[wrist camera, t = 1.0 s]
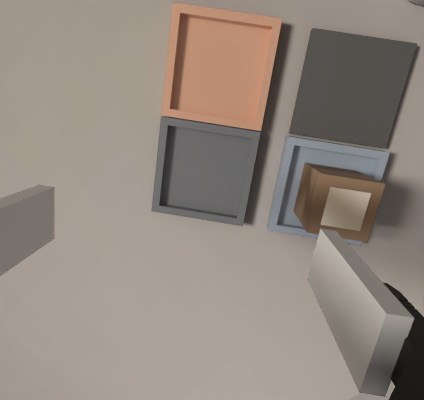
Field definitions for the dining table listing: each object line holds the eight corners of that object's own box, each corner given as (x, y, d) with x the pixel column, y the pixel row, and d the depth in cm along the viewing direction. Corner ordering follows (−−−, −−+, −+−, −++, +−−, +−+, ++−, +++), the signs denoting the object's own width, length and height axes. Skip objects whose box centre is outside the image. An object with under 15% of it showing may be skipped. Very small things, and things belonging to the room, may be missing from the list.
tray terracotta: (175, 7, 28) (172, 2, 26) (280, 22, 27) (282, 18, 26) (164, 115, 30) (161, 115, 29) (259, 130, 30) (260, 131, 29)
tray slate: (286, 135, 30) (288, 136, 29) (383, 151, 30) (389, 152, 28) (267, 226, 32) (268, 230, 31) (356, 240, 32) (361, 245, 31)
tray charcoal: (163, 116, 30) (161, 116, 29) (259, 131, 30) (260, 132, 29) (154, 207, 33) (151, 211, 31) (242, 222, 32) (242, 226, 31)
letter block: (304, 162, 30) (322, 173, 24) (356, 170, 30) (386, 184, 24) (293, 211, 31) (307, 234, 25) (342, 219, 31) (367, 244, 25)
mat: (311, 29, 27) (312, 28, 27) (413, 45, 27) (417, 43, 27) (289, 133, 30) (290, 133, 29) (382, 147, 30) (385, 148, 29)
